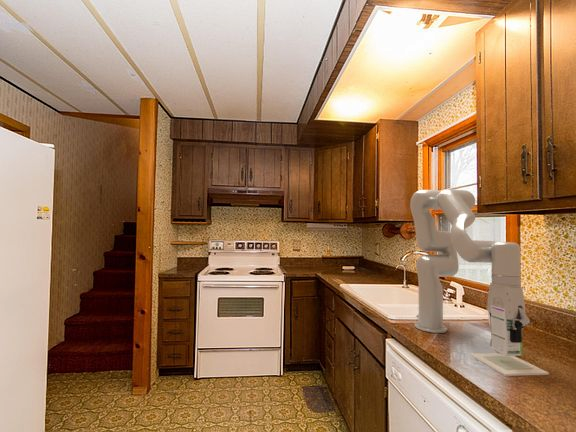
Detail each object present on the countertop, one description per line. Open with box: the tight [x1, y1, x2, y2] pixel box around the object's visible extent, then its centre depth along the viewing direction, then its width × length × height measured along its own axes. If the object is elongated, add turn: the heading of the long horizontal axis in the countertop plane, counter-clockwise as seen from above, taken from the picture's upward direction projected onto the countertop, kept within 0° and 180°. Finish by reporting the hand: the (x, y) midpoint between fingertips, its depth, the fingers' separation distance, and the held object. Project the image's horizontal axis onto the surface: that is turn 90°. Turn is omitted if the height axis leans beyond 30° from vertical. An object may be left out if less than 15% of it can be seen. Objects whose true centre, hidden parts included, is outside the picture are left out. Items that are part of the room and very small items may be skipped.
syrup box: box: [491, 305, 524, 357], centre depth 94 cm, size 6×6×14 cm
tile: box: [470, 352, 550, 377], centre depth 94 cm, size 14×14×1 cm
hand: (506, 337), depth 94 cm, fingers closed on syrup box, 5 cm apart
